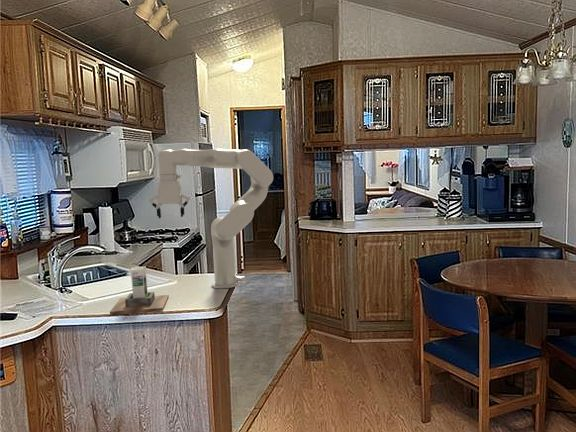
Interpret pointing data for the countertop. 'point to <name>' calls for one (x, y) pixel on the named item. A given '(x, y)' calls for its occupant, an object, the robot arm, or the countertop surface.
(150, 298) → the socket stand
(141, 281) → the syrup box
